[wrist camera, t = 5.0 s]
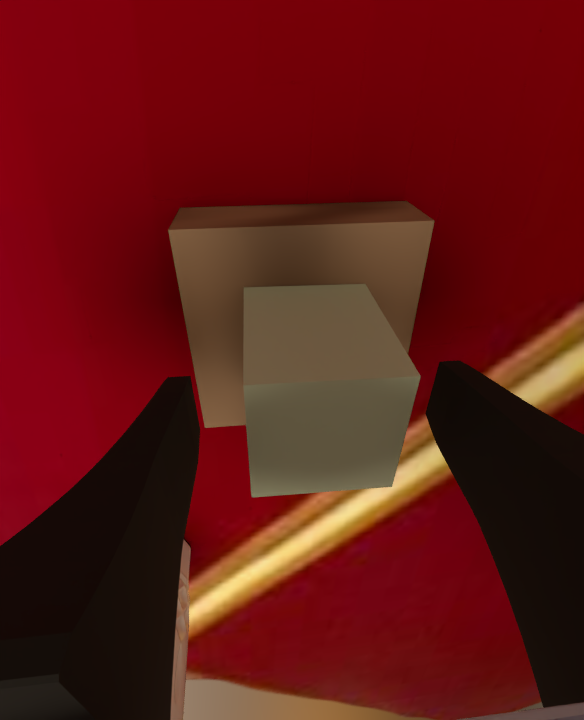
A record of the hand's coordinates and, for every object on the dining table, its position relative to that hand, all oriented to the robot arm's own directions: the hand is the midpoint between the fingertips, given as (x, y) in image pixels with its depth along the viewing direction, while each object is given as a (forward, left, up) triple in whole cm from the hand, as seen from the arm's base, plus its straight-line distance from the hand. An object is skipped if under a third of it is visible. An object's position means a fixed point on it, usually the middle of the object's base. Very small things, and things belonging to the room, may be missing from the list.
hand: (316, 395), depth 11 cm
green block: (0, 0, -3) cm, 3 cm away
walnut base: (0, 0, -6) cm, 6 cm away
